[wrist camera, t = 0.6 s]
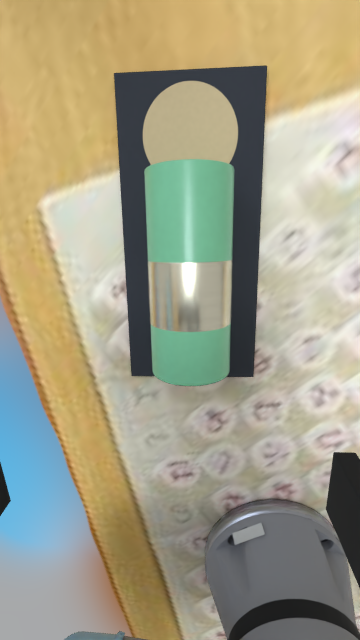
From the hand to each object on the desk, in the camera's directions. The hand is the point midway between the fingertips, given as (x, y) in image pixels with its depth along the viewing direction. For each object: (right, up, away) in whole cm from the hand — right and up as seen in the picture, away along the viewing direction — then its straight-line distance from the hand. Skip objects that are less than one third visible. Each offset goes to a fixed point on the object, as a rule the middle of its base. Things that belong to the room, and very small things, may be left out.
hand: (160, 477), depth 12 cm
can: (+2, +10, +16) cm, 19 cm away
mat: (+2, +13, +16) cm, 21 cm away
